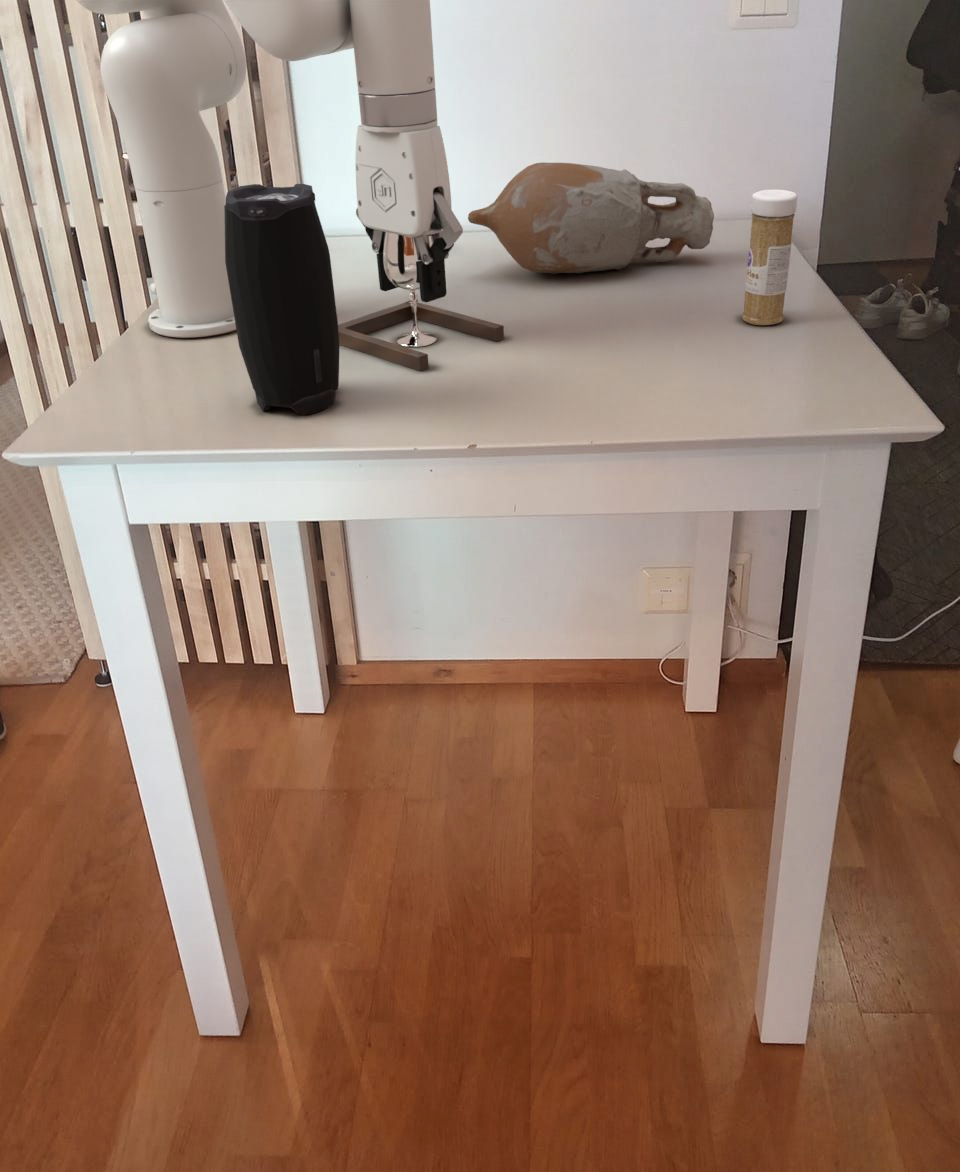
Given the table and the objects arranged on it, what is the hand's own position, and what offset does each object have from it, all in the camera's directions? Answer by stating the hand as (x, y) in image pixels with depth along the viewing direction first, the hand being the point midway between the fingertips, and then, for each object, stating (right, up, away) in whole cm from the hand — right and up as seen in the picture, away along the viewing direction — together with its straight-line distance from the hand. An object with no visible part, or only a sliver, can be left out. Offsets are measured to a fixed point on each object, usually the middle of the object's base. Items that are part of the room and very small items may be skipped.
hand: (412, 291), depth 114 cm
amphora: (+21, +9, +23) cm, 33 cm away
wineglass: (0, -5, +3) cm, 6 cm away
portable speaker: (-10, -14, -11) cm, 20 cm away
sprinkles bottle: (+38, -2, +3) cm, 38 cm away
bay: (0, -5, +3) cm, 5 cm away
